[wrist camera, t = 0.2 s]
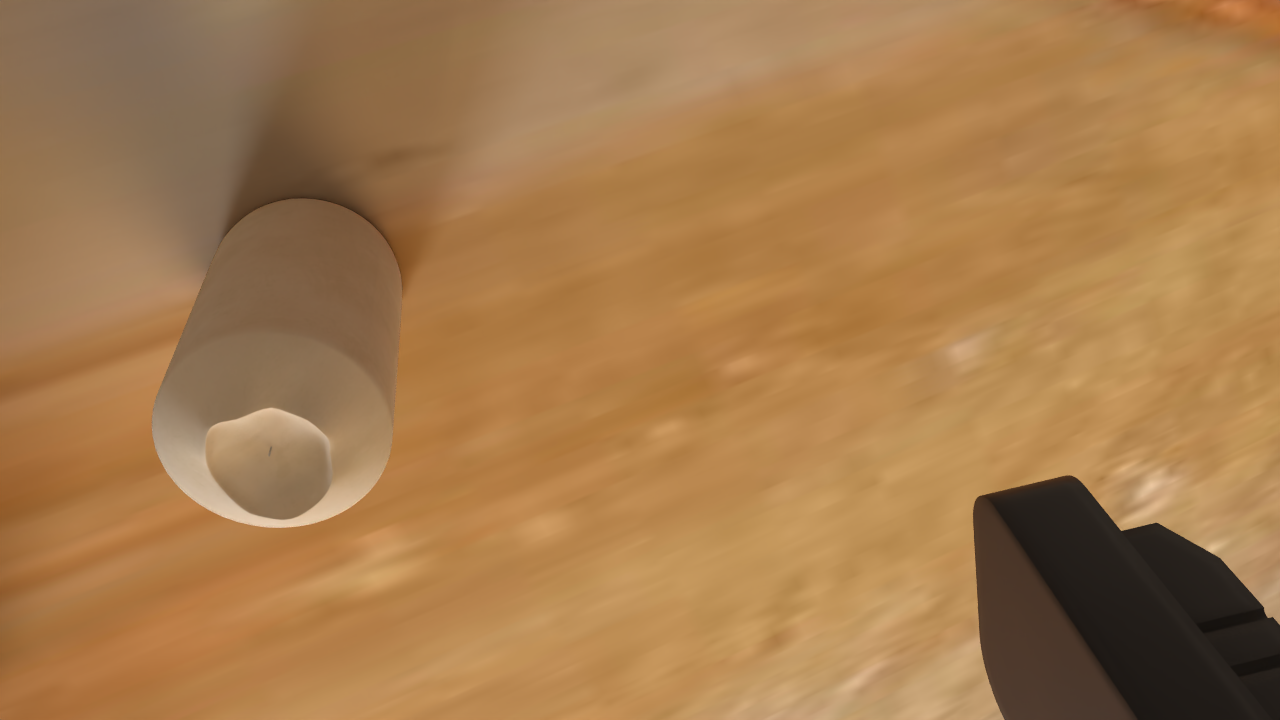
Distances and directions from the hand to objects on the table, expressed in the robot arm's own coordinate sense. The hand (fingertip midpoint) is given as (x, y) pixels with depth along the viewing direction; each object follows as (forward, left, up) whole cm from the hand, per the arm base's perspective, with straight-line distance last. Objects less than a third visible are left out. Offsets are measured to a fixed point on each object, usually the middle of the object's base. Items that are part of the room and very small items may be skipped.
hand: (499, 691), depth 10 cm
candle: (+10, -2, -27) cm, 29 cm away
